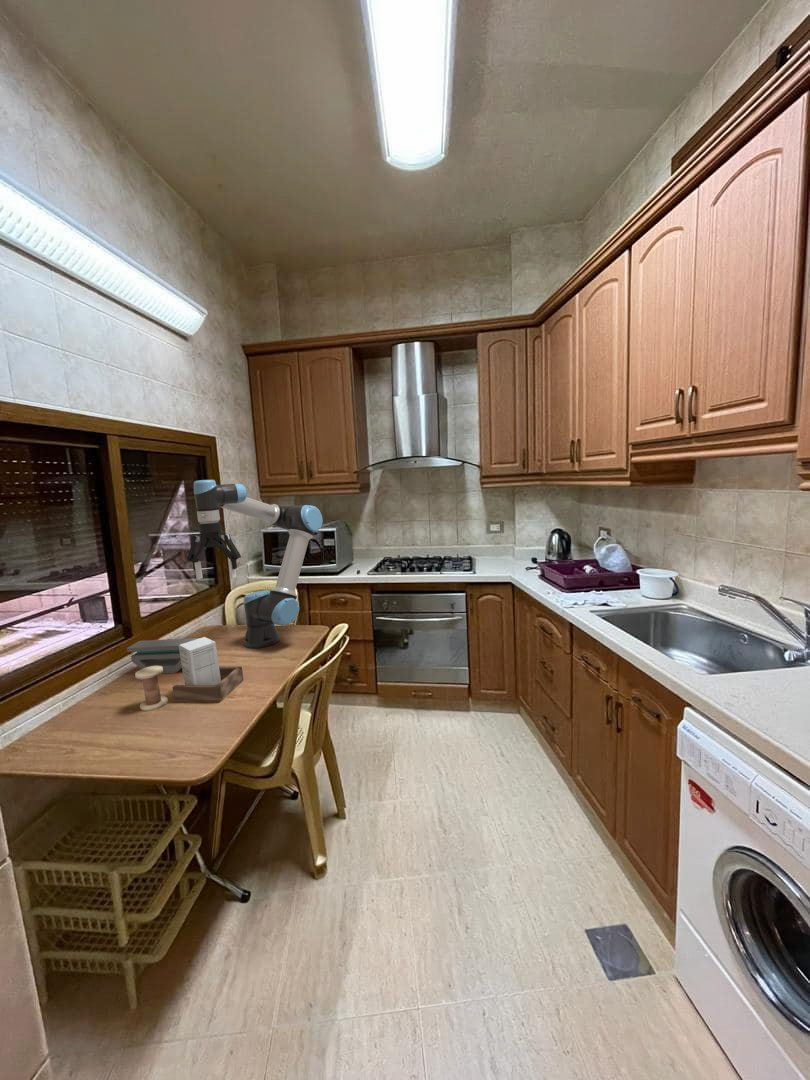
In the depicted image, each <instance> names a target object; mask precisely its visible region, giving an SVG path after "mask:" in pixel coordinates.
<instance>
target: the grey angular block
mask: <svg viewBox="0 0 810 1080" xmlns="http://www.w3.org/2000/svg"><path fill="white" fill-rule="evenodd" d="M199 638H200V637H196V638H194V637H192V638H173V639H172V638H169V639H149V640H146V639H145V640H139V641H137V642H135V643H132V645H130V646H128V647H127V648H126V652H128V653H131V652H134V654H132V655H131V656H130V660H131V663H132V664H135V666H137V667H138V668H140V670H141V669H143V668H146V667H150V666H162V667H163V672H162V673H161V674H173V673H174V674H176V673H177V672H179V671H181V670H182V664H181V657H180V651H179V645H180V644H183V643H187V642H190V641H193V640H196V639H199Z"/></svg>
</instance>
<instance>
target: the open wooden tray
mask: <svg viewBox="0 0 810 1080" xmlns="http://www.w3.org/2000/svg"><path fill="white" fill-rule="evenodd" d="M219 670H220V677H221V682H220V683H218V684H217V685H185V684H174V685H173V686H172V688H171V689H172V692H173V693H172V695H173V702H174V703H221V702H222V701H223V700H225V698H227V696H228V695H230V693H232V692H233V691H234V690H235V689H236V688H237V687H238V686H239V685H240V684H242V682H243V681H244V674H243V666H219Z"/></svg>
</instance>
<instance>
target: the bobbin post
mask: <svg viewBox="0 0 810 1080" xmlns="http://www.w3.org/2000/svg"><path fill="white" fill-rule="evenodd" d="M162 672H163V667H162V666H150V667H146V668H143V669H141V668H140V669H139V670H137V671H136V672H135V674H134V675H135V679H137V680H142V684H143V686H142V687H143V692H144V697H145V700H143V701H142V702H140V704H139V708H140V710H141V711H143V712H149V711H150V712H152V711H155V710H158V709H160V708H163V707H164V706H165V705H167V704H168V702H169V701H168V697H167V696H165V695H161V690H160V689H161V688H160V684H159V683H160V682H159V675H161V674H163V673H162Z"/></svg>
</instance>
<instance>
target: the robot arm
mask: <svg viewBox="0 0 810 1080" xmlns="http://www.w3.org/2000/svg"><path fill="white" fill-rule="evenodd" d="M193 494H194V501H195V507H196V513H197V514H196V516H197V521H198V531H199V532H198V533H199V534H200V536H199V535H194V536H192V538H191V539H192V540H191V546H190V548H189V551H188V554H187V557H186V561H187V562H191V563H192V568H193V572H195V577H196V580H197V581H198V580H203V570H202V564H201V563H202V561H200V558H201V557H202V556H203V554H204V552H205V551H206V550H207V548H217V549H219V550H220V551H221V552H222V553H223V554H224V555H225V556H226V557H227V558H228V560H229V561H228V566H229V568H228V569H229V576H230V579H235V578H237V571H236V569H238V564H237V560H239V559H241V557H242V555H241V553H240V552H239V550H238V549H237V547H236V546H235V543H234V542H233V540H232V538H231V534H230V533H228V534H227V533H226V534H222V525H221V524H222V523H221V522H220V521H221V517H220V516H221V515H220V508H222V509H225V510H228V511H231V512H235V513H238V514H241V515H244V516H248V517H251V518H255V519H258V520H262V521H265V522H266V524H268V525H270V526H273V527H277V528H280V529H282V530H283V529H284V530H286V531H287V533H288V534H289V536H288V541H287V545H286V547H285V551H284V555H283V557H282V558H283V559H282V561H281V562H282V563H281V564H280V569H279V573H278V576H277V581H276V582H275V583H276V584H275V585H274V588H272V589H270V590H267V589H266V590H265V589H264V590H259V591H255V592H254V591H253V592H250V593H248V594H245V595H244V597H243V606H244V614H245V615H244V616H245V621H246V631H245V636H244V646H245V647H246V648H250V649H261V648H266V647H270V646H273V645H275V644H277V643H278V642H279V641H280V639H281V636H280V633H279V632H278V629H277V626H276V625H278V626H287V625H290V624H292V623H293V622H294V621H295V620H296V619H297V617H298V615H299V612H300V606H299V602H298V601H297V597H298V595H297V594H296V588H297V585H298V581H299V578H300V573H301V570H302V567H303V563H304V559H305V555H306V552H307V548H308V545H309V541H310V540H311V539H313V538H314V535H315V532H318V531H320V529H321V528H322V526H323V514H322V513H321V511H320V509H319V508H318V507H317V506H314V505H308V504H305V505H279V504H276V503H272V504H269V503H267V502H262V501H260V500H257V499H254V498H251V497H248V496H247V489H246V487H245V486H244V485H243V484H242V483H226V484H225V483H224V484H217V483H216V481H215V479H201V480H200V479H199V480H195V481H194V482H193ZM200 541H201V544H200ZM224 541H225V542H224ZM199 544H200V545H199ZM198 547H199V548H198ZM197 549H198V550H197Z"/></svg>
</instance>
